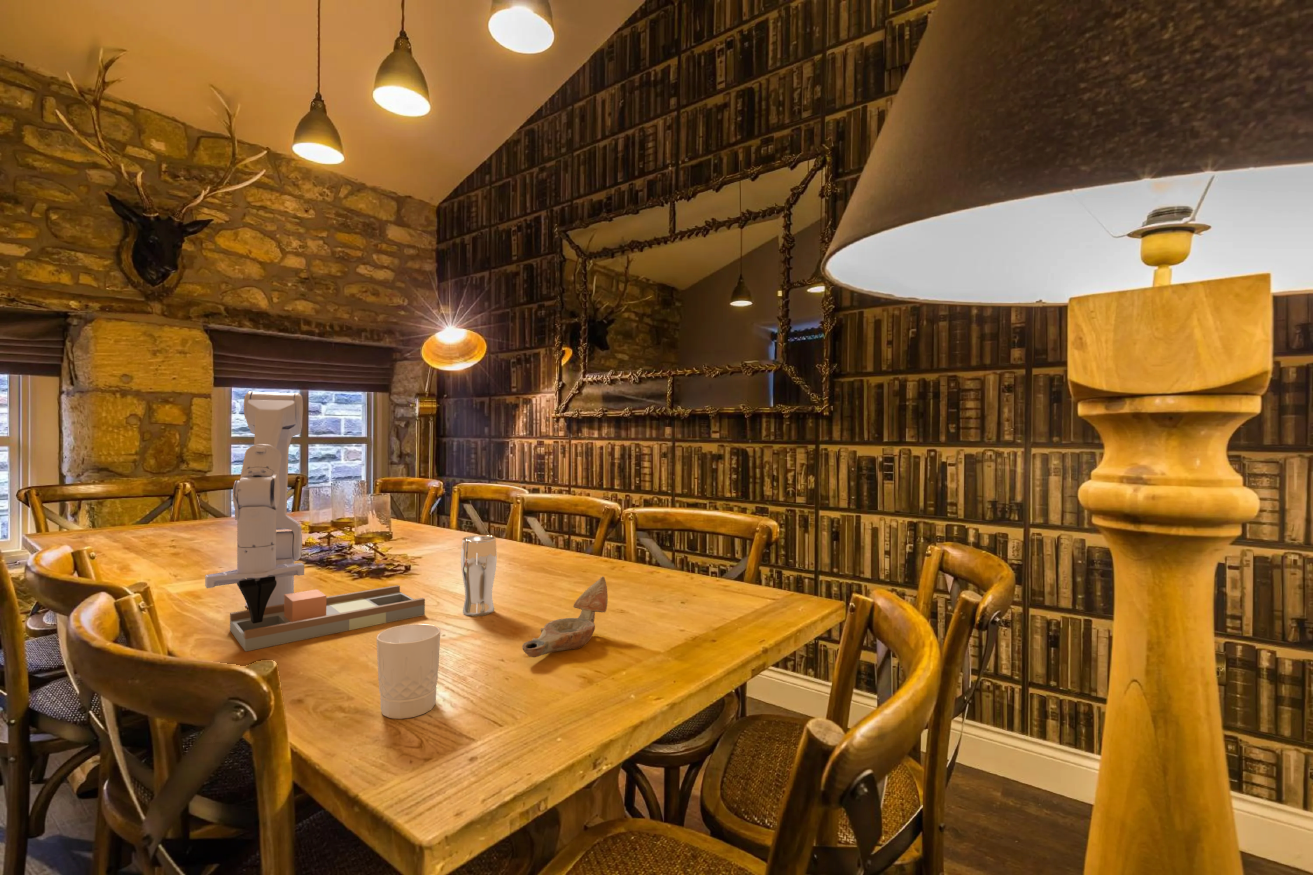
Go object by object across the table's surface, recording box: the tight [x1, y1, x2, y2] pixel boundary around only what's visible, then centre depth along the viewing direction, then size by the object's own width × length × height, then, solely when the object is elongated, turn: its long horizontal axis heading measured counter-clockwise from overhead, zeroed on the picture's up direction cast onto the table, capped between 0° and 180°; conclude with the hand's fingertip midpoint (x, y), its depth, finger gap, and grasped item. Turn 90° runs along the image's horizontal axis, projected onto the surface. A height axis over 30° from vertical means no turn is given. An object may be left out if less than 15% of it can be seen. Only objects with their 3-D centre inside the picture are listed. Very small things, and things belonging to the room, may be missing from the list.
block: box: [284, 588, 327, 622], centre depth 113 cm, size 6×6×4 cm
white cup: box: [376, 623, 441, 720], centre depth 81 cm, size 8×8×10 cm
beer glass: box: [460, 534, 498, 617], centre depth 124 cm, size 7×7×15 cm
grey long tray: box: [229, 584, 426, 652], centre depth 116 cm, size 14×30×3 cm, turn 133°
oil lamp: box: [521, 576, 609, 658], centre depth 105 cm, size 9×21×10 cm, turn 150°
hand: (256, 621), depth 108 cm, fingers closed
